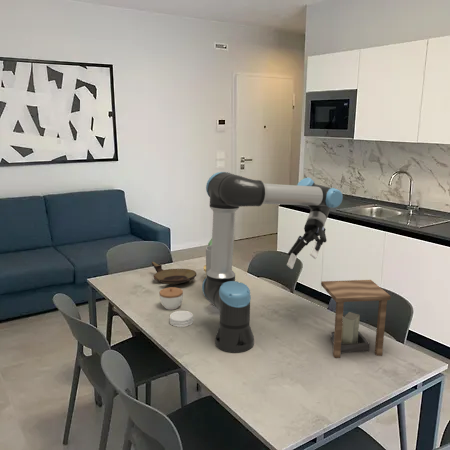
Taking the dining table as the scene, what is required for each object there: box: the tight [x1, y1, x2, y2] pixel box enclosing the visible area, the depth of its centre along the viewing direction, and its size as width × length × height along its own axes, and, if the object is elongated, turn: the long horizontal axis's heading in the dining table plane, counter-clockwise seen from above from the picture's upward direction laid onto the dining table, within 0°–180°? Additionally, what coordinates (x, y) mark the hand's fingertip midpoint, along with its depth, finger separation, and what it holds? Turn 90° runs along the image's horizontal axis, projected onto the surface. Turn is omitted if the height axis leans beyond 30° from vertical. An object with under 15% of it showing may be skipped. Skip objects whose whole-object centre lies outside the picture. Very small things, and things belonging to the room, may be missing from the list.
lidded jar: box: [159, 286, 184, 311], centre depth 208 cm, size 11×11×9 cm
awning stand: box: [320, 279, 392, 359], centre depth 170 cm, size 17×20×24 cm
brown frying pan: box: [151, 261, 197, 285], centre depth 242 cm, size 22×30×8 cm
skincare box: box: [341, 311, 360, 344], centre depth 173 cm, size 6×4×12 cm
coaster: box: [169, 310, 194, 328], centre depth 193 cm, size 10×10×4 cm
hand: (300, 262), depth 176 cm, fingers open, 13 cm apart
